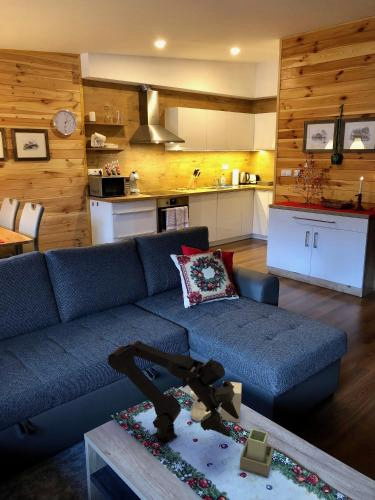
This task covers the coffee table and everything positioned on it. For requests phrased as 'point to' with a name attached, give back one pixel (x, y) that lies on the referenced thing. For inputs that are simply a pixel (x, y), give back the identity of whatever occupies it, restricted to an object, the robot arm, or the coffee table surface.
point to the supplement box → (234, 403)
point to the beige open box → (257, 446)
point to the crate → (254, 465)
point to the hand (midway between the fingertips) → (234, 427)
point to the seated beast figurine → (197, 409)
